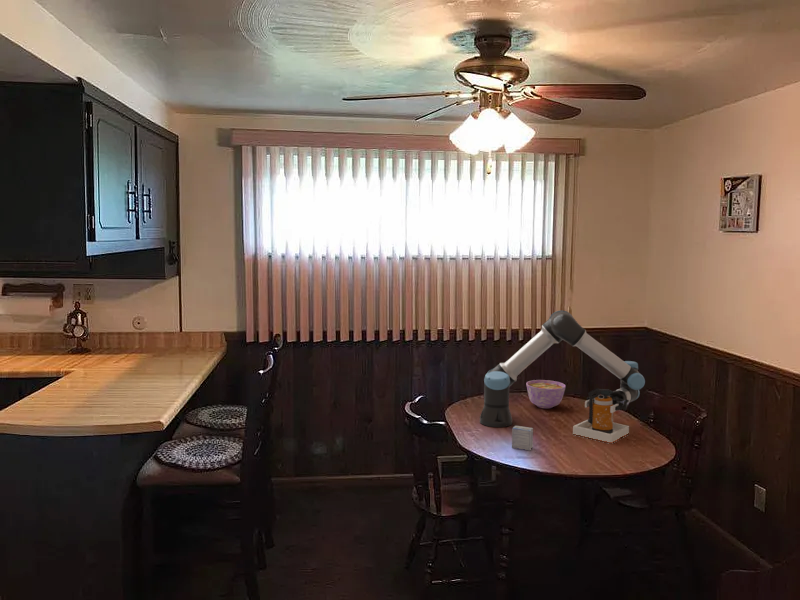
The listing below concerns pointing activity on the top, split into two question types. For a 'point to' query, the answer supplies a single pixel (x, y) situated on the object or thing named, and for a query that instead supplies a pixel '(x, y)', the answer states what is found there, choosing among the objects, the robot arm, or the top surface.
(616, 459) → the top surface
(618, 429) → the tray
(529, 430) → the medicine box
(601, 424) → the canister
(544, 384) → the bowl of food
